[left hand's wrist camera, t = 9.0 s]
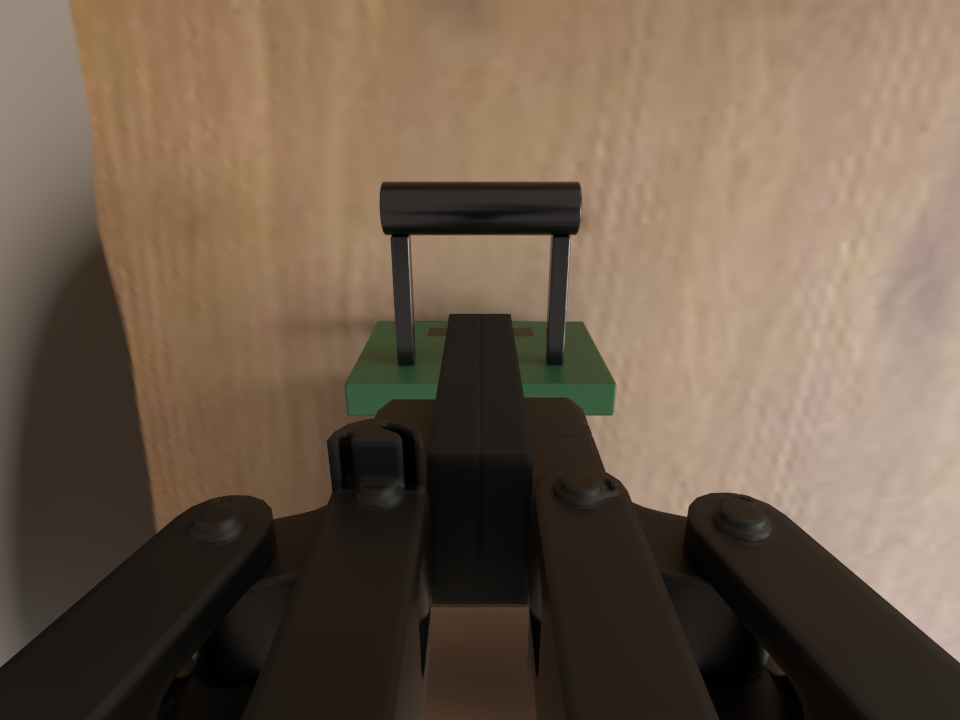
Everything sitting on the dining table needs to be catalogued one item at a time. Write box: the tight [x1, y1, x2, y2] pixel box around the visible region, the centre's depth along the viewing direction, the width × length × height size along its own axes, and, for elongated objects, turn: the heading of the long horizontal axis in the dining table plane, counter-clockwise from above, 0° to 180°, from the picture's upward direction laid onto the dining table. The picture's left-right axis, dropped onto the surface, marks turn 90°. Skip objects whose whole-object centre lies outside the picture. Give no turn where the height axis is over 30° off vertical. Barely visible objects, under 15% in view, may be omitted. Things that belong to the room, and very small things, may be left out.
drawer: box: [345, 182, 617, 415], centre depth 25 cm, size 26×9×7 cm, turn 0°
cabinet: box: [424, 594, 537, 720], centre depth 29 cm, size 21×10×9 cm, turn 0°
